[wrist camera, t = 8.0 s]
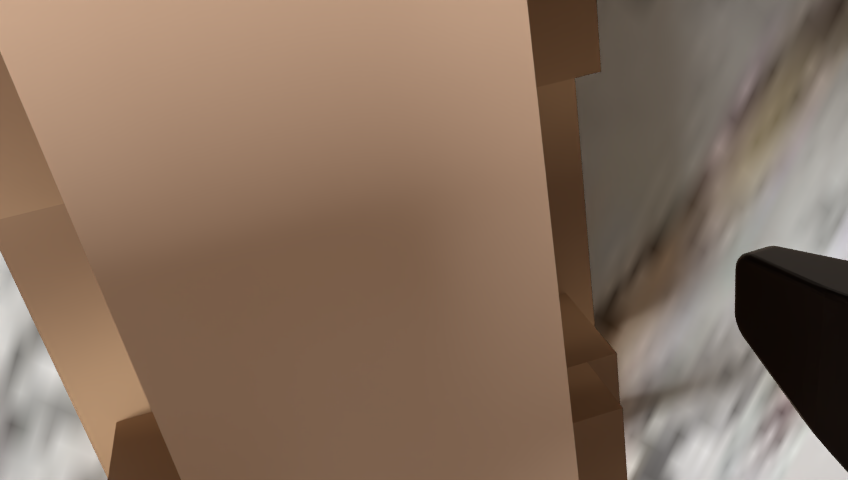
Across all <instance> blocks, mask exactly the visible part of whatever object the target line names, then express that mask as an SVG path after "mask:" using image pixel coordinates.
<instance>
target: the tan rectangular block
mask: <svg viewBox="0 0 848 480" xmlns="http://www.w3.org/2000/svg"><path fill="white" fill-rule="evenodd" d="M0 52H1V55H2V57H3V59H4V62H5V64H6V66H7V69H8V71H9V74H10V76H11V78H12V81H13V83H14V85H15V88H16V90H17V93H18V95H19V97H20V100H21V102H22V104H23V107H24V109H25V111H26V114H27V116H28V119H29V121H30V123H31V126H32V128H33V130H34V133H35V135H36V138H37V140H38V142H39V145H40V147H41V149H42V152H43V154H44V156H45V159H46V161H47V164H48V166H49V168H50V171H51V173H52V175H53V178H54V180H55V183H56V185H57V187H58V190H59V192H60V194H61V197H62V199H63V201H64V204H65V206H66V209H67V211H68V213H69V216H70V218H71V220H72V223H73V225H74V228H75V230H76V232H77V235H78V237H79V239H80V242H81V244H82V246H83V249H84V251H85V254H86V256H87V258H88V261H89V263H90V265H91V268H92V270H93V272H94V275H95V277H96V280H97V282H98V284H99V287H100V289H101V291H102V294H103V296H104V299H105V301H106V303H107V306H108V308H109V310H110V313H111V315H112V317H113V320H114V322H115V325H116V327H117V329H118V332H119V334H120V336H121V339H122V341H123V344H124V346H125V348H126V351H127V353H128V355H129V358H130V360H131V362H132V365H133V367H134V370H135V372H136V374H137V377H138V379H139V381H140V384H141V386H142V389H143V391H144V393H145V396H146V398H147V400H148V403H149V405H150V407H151V410H152V412H153V415H154V417H155V419H156V422H157V424H158V426H159V429H160V431H161V433H162V436H163V438H164V441H165V443H166V445H167V448H168V450H169V452H170V455H171V457H172V460H173V462H174V464H175V467H176V469H177V471H178V474H179V476H180V478H181V480H579V477H578V468H577V459H576V449H575V440H574V431H573V422H572V412H571V403H570V394H569V385H568V375H567V366H566V357H565V348H564V338H563V329H562V320H561V311H560V302H559V292H558V283H557V274H556V265H555V255H554V246H553V237H552V228H551V218H550V209H549V200H548V191H547V181H546V172H545V163H544V154H543V144H542V135H541V126H540V117H539V107H538V98H537V89H536V80H535V70H534V61H533V52H532V43H531V34H530V24H529V15H528V6H527V0H0Z"/></svg>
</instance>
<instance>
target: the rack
mask: <svg viewBox="0 0 848 480" xmlns="http://www.w3.org/2000/svg"><path fill="white" fill-rule="evenodd" d="M527 6H528V15H529V24H530V34H531V43H532V52H533V61H534V70H535V80H536V89H537V98H538V107H539V117H540V126H541V135H542V144H543V154H544V163H545V172H546V181H547V191H548V200H549V209H550V218H551V228H552V237H553V246H554V255H555V265H556V274H557V283H558V292H559V302H560V311H561V320H562V329H563V338H564V348H565V357H566V366H567V375H568V385H569V394H570V403H571V412H572V422H573V431H574V440H575V449H576V459H577V468H578V477H579V480H627V468H626V453H625V437H624V422H623V408H622V406H621V405H620V398H619V383H618V368H617V353H616V352H615V351H614V350H613V348H612V347H611V346H610V345H609V344H608V342H607V341H606V340H605V339H604V338H603V337H602V335H601V334H600V333H599V332H598V331H597V329H596V328H595V324H594V311H593V299H592V286H591V274H590V261H589V249H588V236H587V224H586V211H585V199H584V186H583V174H582V161H581V149H580V136H579V124H578V111H577V99H576V86H575V78H577V77H581V76H585V75H589V74H593V73H597V72H601V63H600V47H599V32H598V16H597V0H527ZM0 251H1V253H2V255H3V257H4V260H5V262H6V264H7V266H8V268H9V270H10V272H11V274H12V277H13V279H14V281H15V283H16V285H17V287H18V289H19V291H20V293H21V296H22V298H23V300H24V302H25V304H26V306H27V308H28V310H29V313H30V315H31V317H32V319H33V321H34V323H35V325H36V327H37V329H38V332H39V334H40V336H41V338H42V340H43V342H44V344H45V346H46V348H47V351H48V353H49V355H50V357H51V359H52V361H53V363H54V365H55V368H56V370H57V372H58V374H59V376H60V378H61V380H62V382H63V384H64V387H65V389H66V391H67V393H68V395H69V397H70V399H71V401H72V404H73V406H74V408H75V410H76V412H77V414H78V416H79V418H80V420H81V423H82V425H83V427H84V429H85V431H86V433H87V435H88V437H89V440H90V442H91V444H92V446H93V448H94V450H95V452H96V454H97V456H98V459H99V461H100V463H101V465H102V467H103V469H104V471H105V473H106V475H107V478H108V480H181V478H180V476H179V474H178V471H177V469H176V467H175V464H174V462H173V460H172V457H171V455H170V452H169V450H168V448H167V445H166V443H165V441H164V438H163V436H162V433H161V431H160V429H159V426H158V424H157V422H156V419H155V417H154V415H153V412H152V410H151V407H150V405H149V403H148V400H147V398H146V396H145V393H144V391H143V389H142V386H141V384H140V381H139V379H138V377H137V374H136V372H135V370H134V367H133V365H132V362H131V360H130V358H129V355H128V353H127V351H126V348H125V346H124V344H123V341H122V339H121V336H120V334H119V332H118V329H117V327H116V325H115V322H114V320H113V317H112V315H111V313H110V310H109V308H108V306H107V303H106V301H105V299H104V296H103V294H102V291H101V289H100V287H99V284H98V282H97V280H96V277H95V275H94V272H93V270H92V268H91V265H90V263H89V261H88V258H87V256H86V254H85V251H84V249H83V246H82V244H81V242H80V239H79V237H78V235H77V232H76V230H75V228H74V225H73V223H72V220H71V218H70V216H69V213H68V211H67V209H66V206H65V204H64V201H63V199H62V197H61V194H60V192H59V190H58V187H57V185H56V183H55V180H54V178H53V175H52V173H51V171H50V168H49V166H48V164H47V161H46V159H45V156H44V154H43V152H42V149H41V147H40V145H39V142H38V140H37V138H36V135H35V133H34V130H33V128H32V126H31V123H30V121H29V119H28V116H27V114H26V111H25V109H24V107H23V104H22V102H21V100H20V97H19V95H18V93H17V90H16V88H15V85H14V83H13V81H12V78H11V76H10V74H9V71H8V69H7V66H6V64H5V62H4V59H3V57H2V55H1V52H0Z"/></svg>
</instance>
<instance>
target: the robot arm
mask: <svg viewBox="0 0 848 480" xmlns="http://www.w3.org/2000/svg"><path fill="white" fill-rule="evenodd" d="M735 318H736V322H737V325H738V328H739V330H740V332H741V334H742V335H743V337H744V338H745V340H746V341H747V343H748V344H749V345H750V347H751V348H752V349H753V351H754V352H755V354H756V355H757V356H758V358H759V359H760V361H761V362H762V363H763V365H764V366H765V368H766V369H767V370H768V372H769V373H770V374H771V376H772V377H773V379H774V380H775V381H776V383H777V384H778V386H779V387H780V388H781V390H782V391H783V393H784V394H785V395H786V397H787V398H788V399H789V401H790V402H791V404H792V405H793V406H794V408H795V409H796V411H797V412H798V413H799V415H800V416H801V417H802V419H803V420H804V421H805V423H806V424H807V425H808V427H809V428H810V429H811V430H812V432H813V433H814V434H815V435H816V437H817V438H818V439H819V440H820V441H821V442H822V444H823V445H824V446H825V447H826V448H827V450H828V451H829V452H830V453H831V454H832V455H833V456H834V457H835V459H836V460H837V461H838V462H839V463H840V464H841V465H842V466H843V467H844V469H845V470H846V471H847V472H848V261H847V260H842V259H837V258H832V257H827V256H822V255H817V254H812V253H807V252H803V251H798V250H793V249H788V248H783V247H778V246H768V247H765V248H762V249H758V250H755V251H751V252H748V253H745V254H743V255H741V256H740V257H739V259H738V261H737V263H736V275H735Z"/></svg>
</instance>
